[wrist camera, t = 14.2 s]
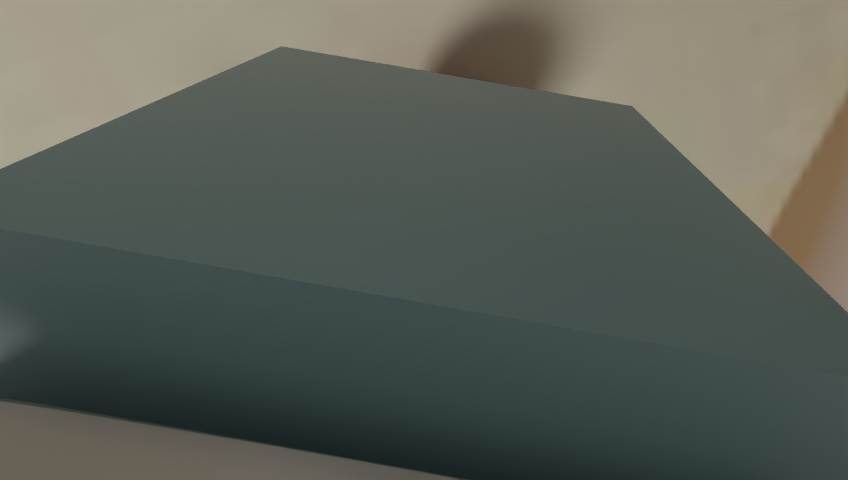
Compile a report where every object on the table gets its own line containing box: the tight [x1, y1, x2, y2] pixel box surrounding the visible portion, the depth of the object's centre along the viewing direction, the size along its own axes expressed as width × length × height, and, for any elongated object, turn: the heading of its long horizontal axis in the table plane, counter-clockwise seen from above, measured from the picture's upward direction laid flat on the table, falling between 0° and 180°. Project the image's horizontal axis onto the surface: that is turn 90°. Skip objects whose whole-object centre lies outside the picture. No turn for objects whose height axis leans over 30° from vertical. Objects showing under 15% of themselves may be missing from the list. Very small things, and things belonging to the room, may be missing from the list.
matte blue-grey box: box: [0, 46, 848, 480], centre depth 10 cm, size 8×8×9 cm
